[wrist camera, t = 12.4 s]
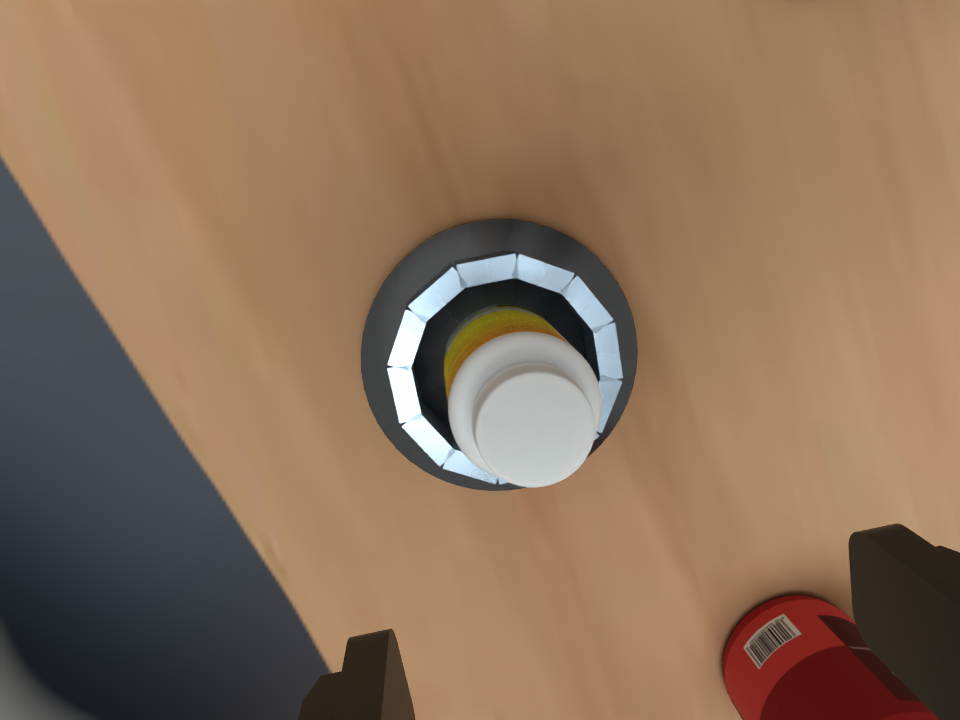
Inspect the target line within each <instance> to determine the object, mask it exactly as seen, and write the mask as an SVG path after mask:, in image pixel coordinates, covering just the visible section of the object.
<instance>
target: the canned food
mask: <svg viewBox="0 0 960 720" xmlns="http://www.w3.org/2000/svg"><path fill="white" fill-rule="evenodd" d="M723 673H724V678H725V683H726V687H727V692H728V694H729V697H730V699H731V701H732V703H733V704H734V706H735V708H736V709H737V711H738V713H739V714H740V716H741V718H742V719H743V720H940V719H939V718H938V717H937V716H936V715H935V714H934V713H933V712H932V711H931V710H930V709H929V708H928V707H927V706H926V705H925V704H924V703H923V702H922V701H921V700H920V699H919V698H918V697H917V696H916V695H915V694H914V693H913V692H912V691H911V690H910V689H909V688H908V687H907V686H906V685H905V684H904V683H903V682H902V681H901V680H900V679H899V678H898V677H897V676H896V675H895V674H894V673H893V672H892V671H891V670H890V669H889V668H888V667H887V666H886V665H885V664H884V663H883V662H882V661H881V660H880V659H879V658H878V657H877V656H876V655H875V654H874V653H873V652H872V651H871V650H870V649H869V647H868V646H867V645H866V643H865V642H864V640H863V638H862V636H861V635H860V632H859V630H858V628H857V625H856V623H855V622H854V621H853V620H851V619H850V618H849V617H848V616H847V615H846V614H845V613H844V612H842V611H841V610H840V609H839V608H837V607H835V606H833V605H831V604H829V603H827V602H825V601H822V600H820V599H818V598H814V597H810V596H806V595H790V596H784V597H779V598H776V599H773V600H770V601H768V602H766V603H764V604H762V605H760V606H759V607H757V608H755V609H754V610H753V611H752V612H750V613H749V614H748V615H746V616H745V618H744V619H743V620H742V621H741V622H740V623H739V624H738V625H737V627H736V628H735V630H734V631H733V633H732V634H731V636H730V638H729V640H728V643H727V645H726V648H725V652H724V657H723Z"/></svg>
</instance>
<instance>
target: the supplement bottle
mask: <svg viewBox="0 0 960 720" xmlns="http://www.w3.org/2000/svg"><path fill="white" fill-rule="evenodd" d="M443 370H444V381H445V391H446V397H447V409H448V419H449V423H450V427H451V430H452V433H453V436H454V438H455V441H456V443H457V444H458V446H459V448H460V449H461V451H462V452H463V453H464V455H465V456H466V457H467V458H468V459H469V460H470V461H471V462H472V463H473V464H474V465H475V466H477V467H478V468H479V469H481V470H483V471H484V472H486V473H488V474H490V475H492V476H495V477H497V478H500V479H503V480H505V481H507V482H509V483H512V484H515V485H518V486H523V487H543V486H548V485H552V484H555V483H557V482H559V481H561V480H564V479H565V478H567V477H568V476H570V475H571V474H573V473H574V472H575V471H576V470H577V469H578V468H579V467H580V466H581V465H582V463H583V462H584V461H585V459H586V458H587V456H588V454H589V452H590V450H591V448H592V445H593V441H594V436H595V434H596V432H597V429H598V426H599V422H600V417H601V406H602V403H601V392H600V388H599V384H598V381H597V378H596V376H595V374H594V372H593V370H592V368H591V367H590V365H589V363H588V362H587V361H586V360H585V358H584V357H583V356H582V355H581V354H580V353H579V352H578V351H577V350H576V349H575V348H574V347H573V346H572V345H571V344H570V343H569V342H568V341H567V340H566V339H565V338H564V337H563V336H562V335H561V334H560V333H559V332H557V331H556V330H555V329H554V328H553V327H552V326H551V325H550V324H549V323H548V322H547V321H546V320H545V319H543V318H542V317H541V316H540V315H538V314H537V313H535V312H533V311H532V310H530V309H527V308H525V307H522V306H518V305H512V304H496V305H491V306H487V307H484V308H481V309H479V310H477V311H475V312H473V313H472V314H470V315H469V316H467V317H466V318H465V319H464V320H463V321H461V322H460V323H459V325H458V326H457V327H456V328H455V330H454V331H453V333H452V334H451V336H450V338H449V340H448V342H447V345H446V349H445V353H444V360H443Z"/></svg>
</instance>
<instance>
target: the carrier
mask: <svg viewBox="0 0 960 720" xmlns="http://www.w3.org/2000/svg"><path fill="white" fill-rule="evenodd" d="M496 304H512V305H518V306H522V307H525V308H527V309H530V310H532V311H533V312H535V313H537V314H538V315H540V316H541V317H542V318H543V319H545V320H546V321H547V322H548V323H549V324H550V325H551V326H552V327H553V328H554V329H555V330H556V331H557V332H559V333H560V334H561V335H562V336H563V337H564V338H565V339H566V340H567V341H568V342H569V343H570V344H571V345H572V346H573V347H574V348H575V349H576V350H577V351H578V352H579V353H580V354H581V355H582V356H583V357H584V358H585V360H586V361H587V362H588V363H589V365H590V367H591V368H592V370H593V372H594V374H595V376H596V378H597V381H598V384H599V388H600V392H601V403H602V406H601V417H600V422H599V426H598V429H597V432H596V434H595V436H594V441H593V445H592V448H591V450H590V452H589V454H588V456H590V455H591V454H592V453H593V452H594V451H595V450H596V449H597V448H598V447H599V446H600V445H601V444H602V443H603V441H604V440H605V439H606V438H607V437H608V435H609V434H610V433H611V431H612V430H613V428H614V427H615V425H616V424H617V422H618V421H619V419H620V417H621V415H622V413H623V411H624V409H625V407H626V405H627V403H628V400H629V397H630V394H631V391H632V388H633V383H634V378H635V373H636V366H637V339H636V331H635V326H634V321H633V316H632V314H631V311H630V308H629V305H628V302H627V300H626V298H625V296H624V294H623V292H622V290H621V288H620V286H619V284H618V283H617V281H616V280H615V278H614V277H613V275H612V274H611V273H610V271H609V270H608V269H607V267H606V266H605V265H604V264H603V263H602V262H601V261H600V260H599V259H598V258H597V257H596V256H595V255H594V254H593V253H592V252H590V251H589V250H588V249H587V248H586V247H584V246H583V245H582V244H580V243H579V242H577V241H575V240H574V239H572V238H570V237H569V236H567V235H565V234H563V233H561V232H558V231H556V230H554V229H552V228H549V227H546V226H542V225H539V224H535V223H532V222H525V221H518V220H511V219H489V220H481V221H473V222H470V223H466V224H462V225H458V226H455V227H453V228H450V229H448V230H445V231H443V232H440V233H438V234H436V235H435V236H433V237H431V238H430V239H428V240H426V241H424V242H423V243H421V244H420V245H419V246H418V247H416V248H415V249H414V250H412V251H411V252H410V253H409V254H408V255H407V256H406V257H405V258H404V259H403V260H402V261H401V262H400V263H399V264H398V265H397V266H396V267H395V268H394V269H393V271H392V272H391V273H390V275H389V276H388V277H387V279H386V280H385V281H384V283H383V285H382V287H381V288H380V290H379V292H378V294H377V296H376V297H375V299H374V301H373V304H372V306H371V309H370V311H369V314H368V316H367V320H366V324H365V328H364V332H363V338H362V347H361V372H362V378H363V384H364V389H365V392H366V396H367V399H368V402H369V405H370V408H371V410H372V412H373V414H374V416H375V418H376V421H377V422H378V424H379V426H380V427H381V429H382V430H383V432H384V433H385V435H386V436H387V438H388V439H389V440H390V441H391V442H392V444H393V445H394V446H395V447H396V448H397V449H398V450H399V451H400V452H401V453H402V454H403V455H404V456H405V457H406V458H407V459H408V460H410V461H411V462H412V463H414V464H415V465H417V466H418V467H419V468H421V469H422V470H424V471H425V472H427V473H429V474H431V475H433V476H435V477H437V478H439V479H441V480H444V481H446V482H449V483H452V484H455V485H458V486H462V487H467V488H471V489H478V490H488V491H501V490H514V489H520V488H526V487H523V486H518V485H515V484H512V483H509V482H507V481H505V480H503V479H500V478H497V477H495V476H492V475H490V474H488V473H486V472H484V471H483V470H481V469H479V468H478V467H477V466H475V465H474V464H473V463H472V462H471V461H470V460H469V459H468V458H467V457H466V456H465V455H464V453H463V452H462V451H461V449H460V448H459V446H458V444H457V443H456V441H455V438H454V436H453V433H452V430H451V427H450V423H449V419H448V409H447V397H446V391H445V381H444V370H443V360H444V353H445V349H446V345H447V342H448V340H449V338H450V336H451V334H452V333H453V331H454V330H455V328H456V327H457V326H458V325H459V323H460V322H461V321H463V320H464V319H465V318H466V317H467V316H469V315H470V314H472V313H473V312H475V311H477V310H479V309H481V308H484V307H487V306H491V305H496ZM588 456H587V457H588Z"/></svg>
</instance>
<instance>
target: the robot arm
mask: <svg viewBox="0 0 960 720" xmlns="http://www.w3.org/2000/svg"><path fill="white" fill-rule="evenodd" d="M849 560H850V575H851V590H852V605H853V614H854V619H855V622H856V625H857V628H858V630H859V632H860V635H861V636H862V638H863V640H864V642H865V643H866V645H867V646H868V647H869V649H870V650H871V651H872V652H873V653H874V654H875V655H876V656H877V657H878V658H879V659H880V660H881V661H882V662H883V663H884V664H885V665H886V666H887V667H888V668H889V669H890V670H891V671H892V672H893V673H894V674H895V675H896V676H897V677H898V678H899V679H900V680H901V681H902V682H903V683H904V684H905V685H906V686H907V687H908V688H909V689H910V690H911V691H912V692H913V693H914V694H915V695H916V696H917V697H918V698H919V699H920V700H921V701H922V702H923V703H924V704H925V705H926V706H927V707H928V708H929V709H930V710H931V711H932V712H933V713H934V714H935V715H936V716H937V717H938V718H939V719H940V720H960V553H959V552H957V551H954V550H951V549H948V548H946V547H943V546H937V547H935V546H933V545H932V544H930V543H929V542H927V541H926V540H924V539H923V538H921V537H920V536H918V535H917V534H915V533H914V532H912V531H911V530H910V529H908V528H907V527H905V526H903V525H901V524H892V525H887V526H882V527H878V528H873V529H868V530H863V531H859V532H854V533H853V534H852V535H851V536H850V539H849ZM298 720H415V714H414V709H413V704H412V700H411V696H410V692H409V688H408V684H407V680H406V676H405V671H404V667H403V663H402V659H401V655H400V651H399V647H398V643H397V639H396V636H395V633H394V631H393V630H392V629H388V630H383V631H378V632H373V633H369V634H364V635H359V636H354V637H350V638H349V639H348V641H347V646H346V651H345V657H344V662H343V667H342V671H341V672H336V673H331V674H327V675H322V676H320V678H319V679H318V681H317V682H316V683H315V685H314V686H313V688H312V689H311V690H310V692H309V693H308V694H307V696H306V697H305V698H304V700H303V702H302V706H301V710H300V714H299V718H298Z"/></svg>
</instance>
